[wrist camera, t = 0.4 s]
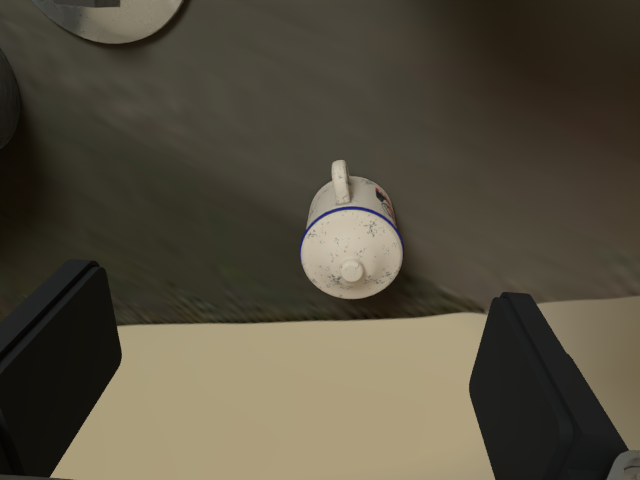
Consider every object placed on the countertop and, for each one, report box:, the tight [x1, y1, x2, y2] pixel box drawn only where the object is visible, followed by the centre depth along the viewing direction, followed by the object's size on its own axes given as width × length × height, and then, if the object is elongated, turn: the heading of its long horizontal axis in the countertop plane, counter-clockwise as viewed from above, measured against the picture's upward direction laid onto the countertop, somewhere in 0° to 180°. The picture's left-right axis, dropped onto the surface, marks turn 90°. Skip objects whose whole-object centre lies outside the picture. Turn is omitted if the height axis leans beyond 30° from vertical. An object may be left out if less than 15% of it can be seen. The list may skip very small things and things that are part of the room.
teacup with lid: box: [300, 160, 404, 299], centre depth 42 cm, size 12×9×12 cm
